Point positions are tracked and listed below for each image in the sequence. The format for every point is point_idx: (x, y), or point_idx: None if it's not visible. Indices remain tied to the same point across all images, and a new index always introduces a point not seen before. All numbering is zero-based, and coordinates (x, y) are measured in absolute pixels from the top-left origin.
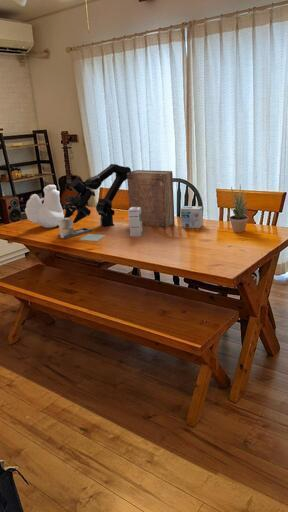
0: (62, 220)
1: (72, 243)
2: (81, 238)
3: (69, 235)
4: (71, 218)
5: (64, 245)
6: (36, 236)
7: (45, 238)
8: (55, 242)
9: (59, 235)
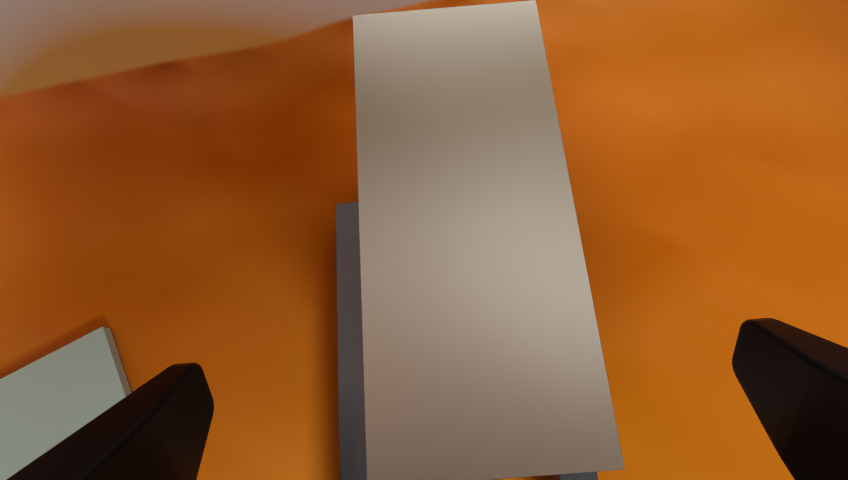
0: (356, 58)
1: (83, 201)
2: (113, 403)
3: (337, 297)
4: (371, 436)
5: (112, 98)
6: (828, 39)
7: (626, 75)
8: (330, 82)
9: None
